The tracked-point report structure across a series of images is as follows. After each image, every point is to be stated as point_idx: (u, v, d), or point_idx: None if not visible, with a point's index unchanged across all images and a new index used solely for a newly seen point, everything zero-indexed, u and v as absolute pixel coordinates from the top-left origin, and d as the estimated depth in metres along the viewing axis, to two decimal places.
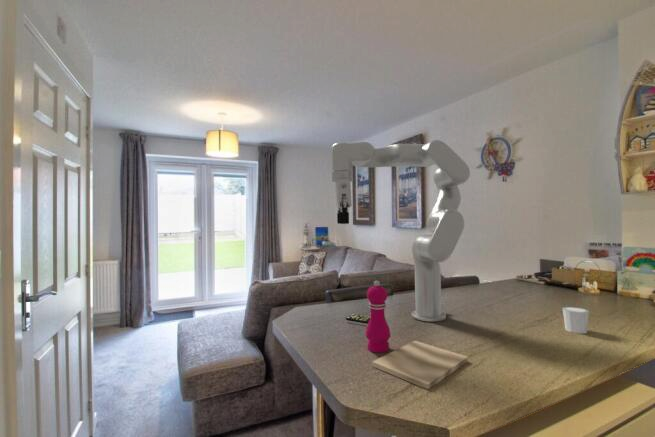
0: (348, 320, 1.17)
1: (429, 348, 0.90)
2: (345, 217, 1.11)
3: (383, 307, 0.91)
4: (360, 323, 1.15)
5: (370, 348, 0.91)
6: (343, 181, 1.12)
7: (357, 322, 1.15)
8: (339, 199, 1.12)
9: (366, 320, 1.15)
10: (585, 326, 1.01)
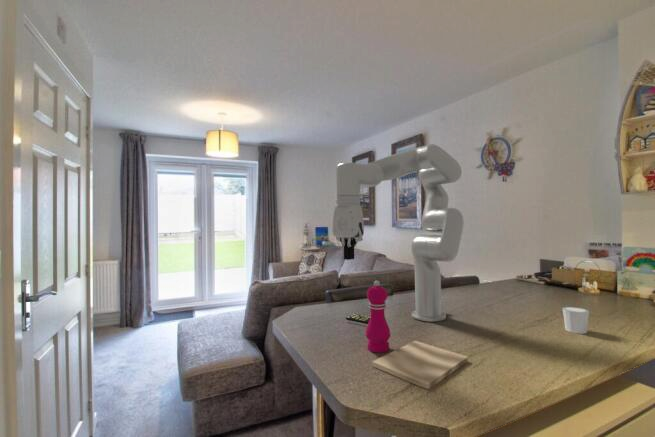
0: (348, 320, 1.18)
1: (429, 348, 0.90)
2: None
3: (383, 307, 0.91)
4: (359, 323, 1.15)
5: (370, 348, 0.91)
6: None
7: (357, 322, 1.15)
8: None
9: (366, 320, 1.15)
10: (585, 326, 1.01)
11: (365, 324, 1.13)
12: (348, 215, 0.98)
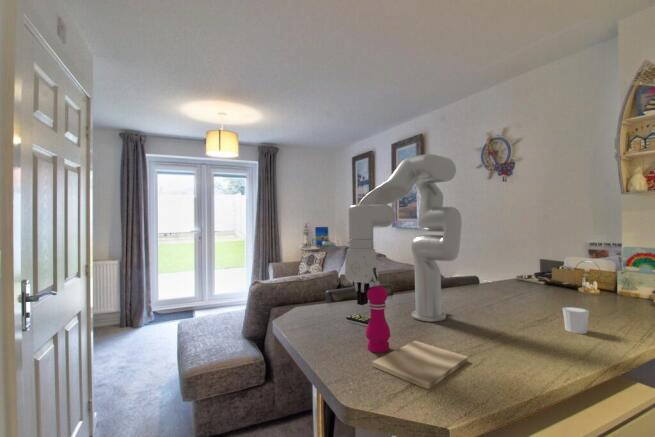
0: (348, 319, 1.18)
1: (429, 348, 0.90)
2: None
3: (383, 307, 0.91)
4: (359, 323, 1.15)
5: (370, 348, 0.91)
6: None
7: (356, 322, 1.16)
8: None
9: (365, 320, 1.15)
10: (585, 326, 1.01)
11: (364, 324, 1.13)
12: (361, 260, 0.94)
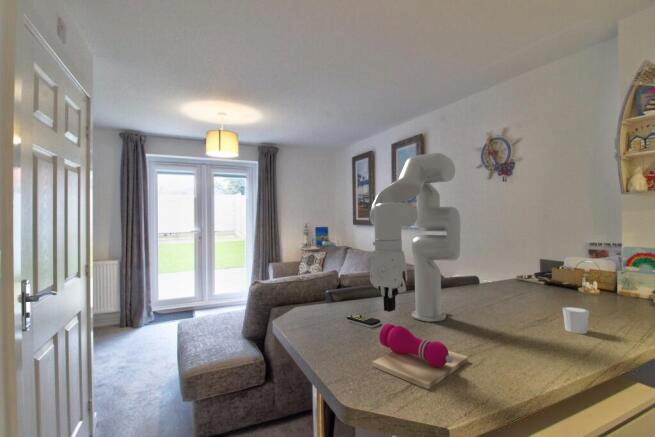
0: (348, 319, 1.18)
1: None
2: None
3: None
4: (358, 323, 1.15)
5: (381, 337, 0.88)
6: None
7: (356, 322, 1.16)
8: None
9: (364, 320, 1.15)
10: (585, 326, 1.01)
11: (363, 324, 1.13)
12: (390, 263, 0.86)
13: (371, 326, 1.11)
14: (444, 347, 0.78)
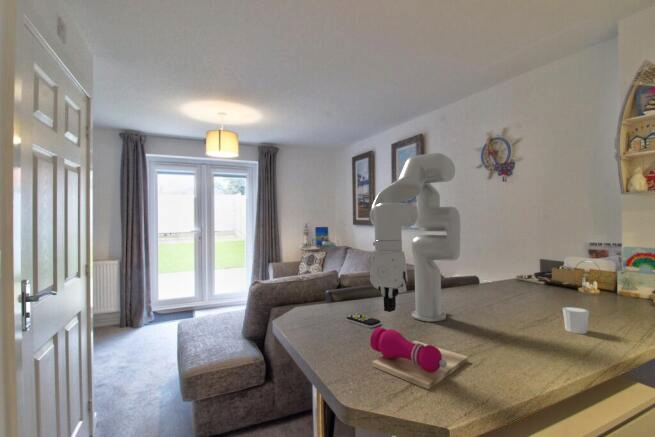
0: (348, 319, 1.19)
1: None
2: None
3: None
4: (358, 323, 1.15)
5: (375, 350, 0.86)
6: None
7: (355, 321, 1.16)
8: None
9: (364, 320, 1.15)
10: (585, 326, 1.01)
11: (363, 324, 1.13)
12: (390, 263, 0.86)
13: (370, 326, 1.11)
14: (433, 357, 0.74)
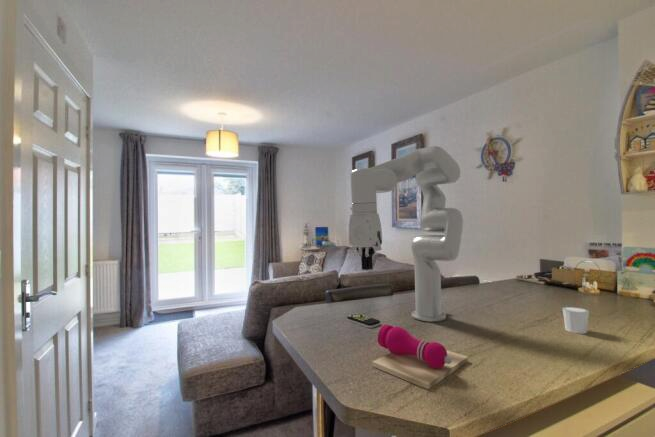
0: (348, 319, 1.19)
1: None
2: None
3: None
4: (358, 323, 1.15)
5: (379, 340, 0.88)
6: None
7: (355, 321, 1.16)
8: None
9: (364, 320, 1.15)
10: (585, 326, 1.01)
11: (362, 324, 1.13)
12: (365, 224, 0.93)
13: (369, 326, 1.11)
14: (442, 348, 0.77)
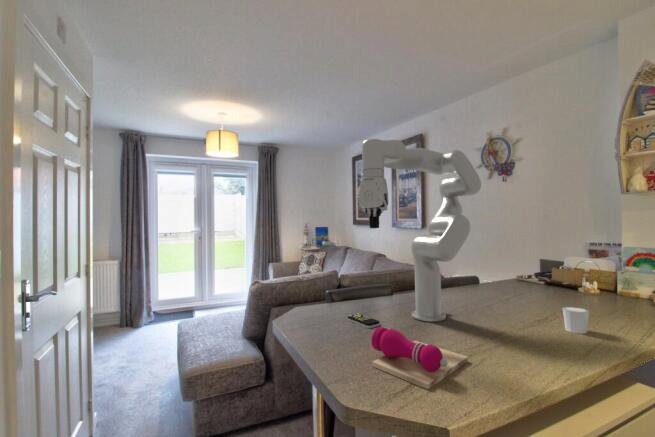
0: (349, 318, 1.19)
1: None
2: None
3: None
4: (357, 322, 1.15)
5: (376, 349, 0.86)
6: None
7: (355, 321, 1.16)
8: None
9: (363, 320, 1.15)
10: (585, 326, 1.01)
11: (361, 324, 1.13)
12: (374, 187, 1.07)
13: (368, 326, 1.11)
14: (434, 356, 0.74)
